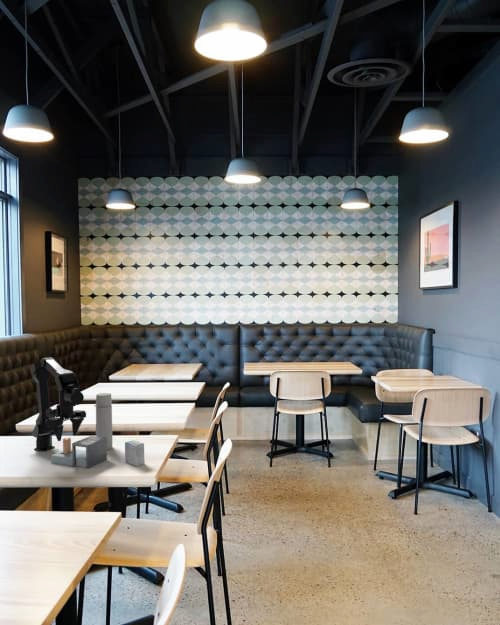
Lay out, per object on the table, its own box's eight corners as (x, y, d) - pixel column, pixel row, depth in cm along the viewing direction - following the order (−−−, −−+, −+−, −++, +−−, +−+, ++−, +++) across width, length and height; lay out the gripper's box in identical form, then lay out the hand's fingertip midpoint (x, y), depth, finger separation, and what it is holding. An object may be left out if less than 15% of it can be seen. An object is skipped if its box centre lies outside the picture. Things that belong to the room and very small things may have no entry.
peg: (66, 458, 213) (66, 437, 213) (72, 459, 212) (72, 438, 212) (61, 460, 210) (61, 439, 210) (67, 461, 209) (67, 440, 209)
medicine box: (144, 464, 205) (144, 443, 205) (135, 466, 201) (135, 445, 201) (134, 459, 210) (133, 439, 210) (124, 462, 207) (124, 441, 207)
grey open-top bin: (91, 457, 214) (91, 435, 213) (107, 459, 211) (106, 437, 211) (72, 466, 203) (72, 443, 202) (88, 468, 200) (87, 445, 199)
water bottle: (116, 447, 228) (115, 393, 228) (103, 451, 222) (102, 396, 221) (103, 444, 233) (102, 391, 232) (89, 448, 226) (88, 394, 226)
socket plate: (67, 455, 217) (67, 448, 217) (103, 459, 210) (103, 452, 210) (51, 462, 208) (51, 455, 208) (87, 467, 201) (87, 460, 201)
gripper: (66, 396, 222) (67, 431, 222) (34, 405, 204) (35, 442, 205) (86, 398, 218) (87, 433, 218) (56, 406, 200) (56, 444, 201)
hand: (66, 438), depth 211 cm, fingers open, 9 cm apart
